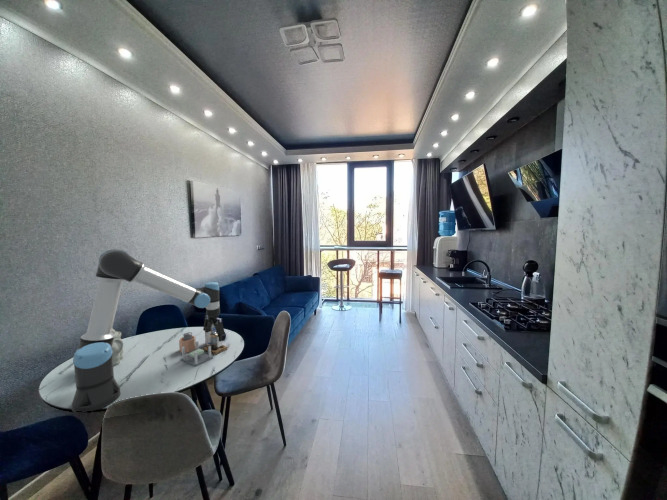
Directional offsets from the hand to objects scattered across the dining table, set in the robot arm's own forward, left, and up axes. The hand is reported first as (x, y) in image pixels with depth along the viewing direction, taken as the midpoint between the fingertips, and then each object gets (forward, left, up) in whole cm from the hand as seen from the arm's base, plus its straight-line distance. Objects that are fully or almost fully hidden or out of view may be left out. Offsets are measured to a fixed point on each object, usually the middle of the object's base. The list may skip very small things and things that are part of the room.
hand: (214, 344), depth 152 cm
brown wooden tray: (0, 0, -4) cm, 4 cm away
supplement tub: (+6, +9, -4) cm, 12 cm away
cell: (0, 0, -3) cm, 3 cm away
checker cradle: (-12, -1, -4) cm, 12 cm away
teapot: (-39, +35, -4) cm, 52 cm away
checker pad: (-12, -1, -1) cm, 12 cm away
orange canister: (-8, +15, -4) cm, 17 cm away
